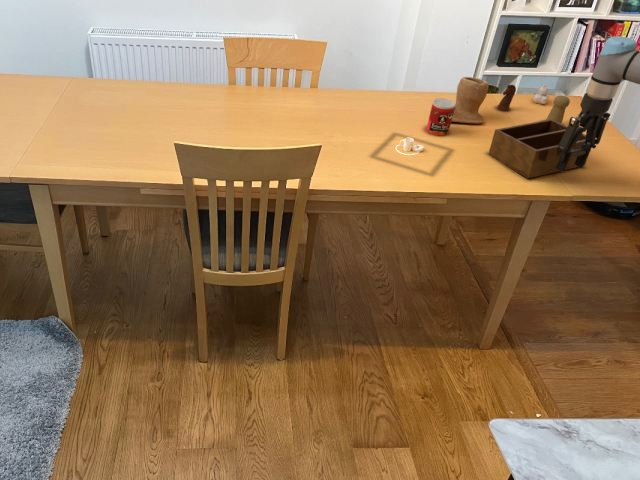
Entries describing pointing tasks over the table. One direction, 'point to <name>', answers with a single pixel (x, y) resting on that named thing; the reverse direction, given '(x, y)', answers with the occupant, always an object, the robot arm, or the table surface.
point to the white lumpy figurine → (541, 95)
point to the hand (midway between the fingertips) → (569, 167)
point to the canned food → (440, 116)
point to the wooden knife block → (533, 147)
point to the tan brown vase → (469, 100)
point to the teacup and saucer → (410, 146)
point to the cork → (558, 108)
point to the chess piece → (507, 98)
